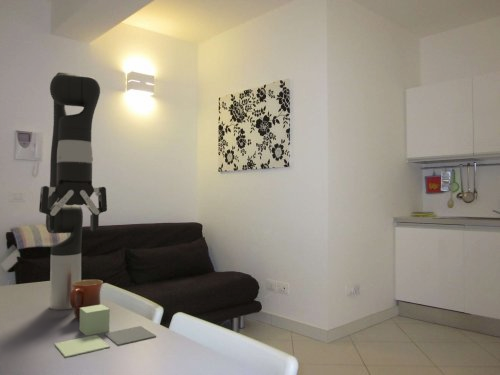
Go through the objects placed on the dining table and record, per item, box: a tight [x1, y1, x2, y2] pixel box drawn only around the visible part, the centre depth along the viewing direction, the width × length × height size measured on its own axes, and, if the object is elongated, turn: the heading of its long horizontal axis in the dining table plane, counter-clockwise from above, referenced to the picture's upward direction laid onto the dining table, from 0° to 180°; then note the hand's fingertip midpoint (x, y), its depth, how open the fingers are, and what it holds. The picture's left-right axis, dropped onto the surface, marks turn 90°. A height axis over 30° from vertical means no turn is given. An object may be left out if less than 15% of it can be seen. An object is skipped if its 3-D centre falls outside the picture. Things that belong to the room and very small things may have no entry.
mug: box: [70, 279, 104, 320], centre depth 121 cm, size 12×9×10 cm
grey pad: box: [103, 325, 157, 346], centre depth 106 cm, size 10×10×1 cm
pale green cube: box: [79, 303, 111, 337], centre depth 110 cm, size 6×6×6 cm
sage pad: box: [54, 334, 111, 358], centre depth 98 cm, size 10×10×1 cm
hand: (74, 231), depth 94 cm, fingers open, 8 cm apart
